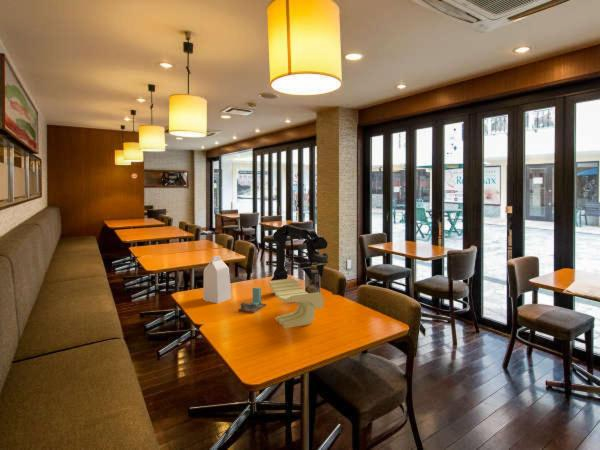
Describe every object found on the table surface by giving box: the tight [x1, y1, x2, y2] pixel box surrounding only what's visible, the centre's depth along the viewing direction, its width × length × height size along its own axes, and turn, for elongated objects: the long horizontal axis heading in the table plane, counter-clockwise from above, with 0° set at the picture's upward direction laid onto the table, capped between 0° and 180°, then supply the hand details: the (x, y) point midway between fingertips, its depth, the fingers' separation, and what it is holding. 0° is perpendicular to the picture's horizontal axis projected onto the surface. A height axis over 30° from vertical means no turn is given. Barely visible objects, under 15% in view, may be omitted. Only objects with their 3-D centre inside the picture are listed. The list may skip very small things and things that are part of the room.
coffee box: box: [304, 269, 321, 293], centre depth 222 cm, size 9×6×16 cm
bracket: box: [238, 302, 267, 314], centre depth 203 cm, size 14×9×4 cm, turn 157°
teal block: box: [249, 286, 262, 308], centre depth 204 cm, size 9×4×9 cm, turn 157°
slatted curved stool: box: [269, 278, 324, 329], centre depth 182 cm, size 30×16×18 cm, turn 24°
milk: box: [202, 255, 232, 304], centre depth 220 cm, size 12×12×26 cm
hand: (316, 278), depth 207 cm, fingers open, 9 cm apart
